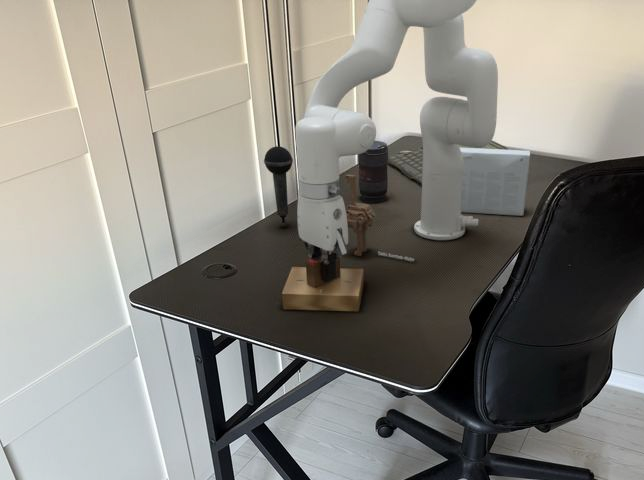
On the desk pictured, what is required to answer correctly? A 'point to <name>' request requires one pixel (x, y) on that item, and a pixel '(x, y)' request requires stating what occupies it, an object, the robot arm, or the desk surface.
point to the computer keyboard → (414, 160)
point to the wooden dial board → (324, 291)
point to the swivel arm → (318, 271)
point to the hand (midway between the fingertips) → (323, 276)
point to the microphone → (279, 177)
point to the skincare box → (494, 181)
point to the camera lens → (373, 172)
